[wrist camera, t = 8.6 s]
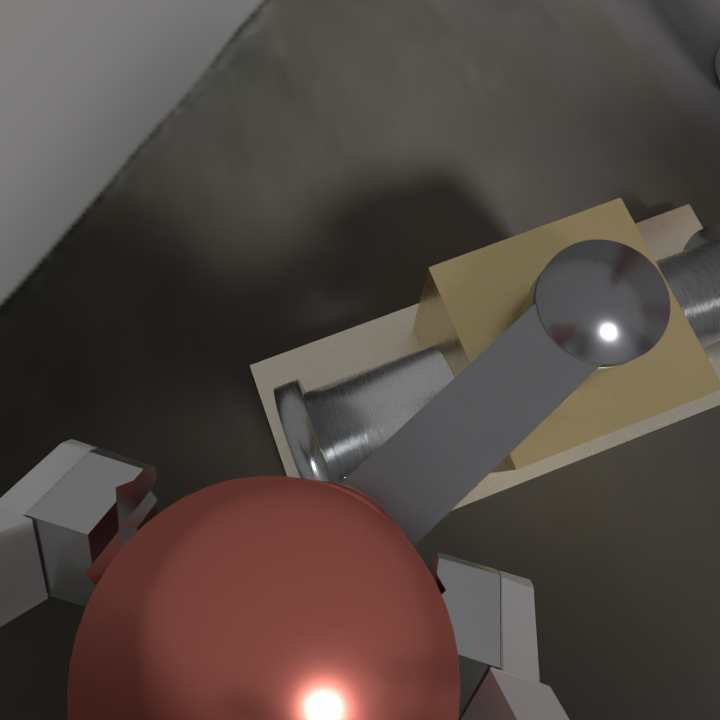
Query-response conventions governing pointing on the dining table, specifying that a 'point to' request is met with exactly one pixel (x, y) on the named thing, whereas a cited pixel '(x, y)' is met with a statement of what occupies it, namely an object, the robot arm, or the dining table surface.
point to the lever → (347, 539)
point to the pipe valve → (478, 331)
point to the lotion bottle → (718, 64)
